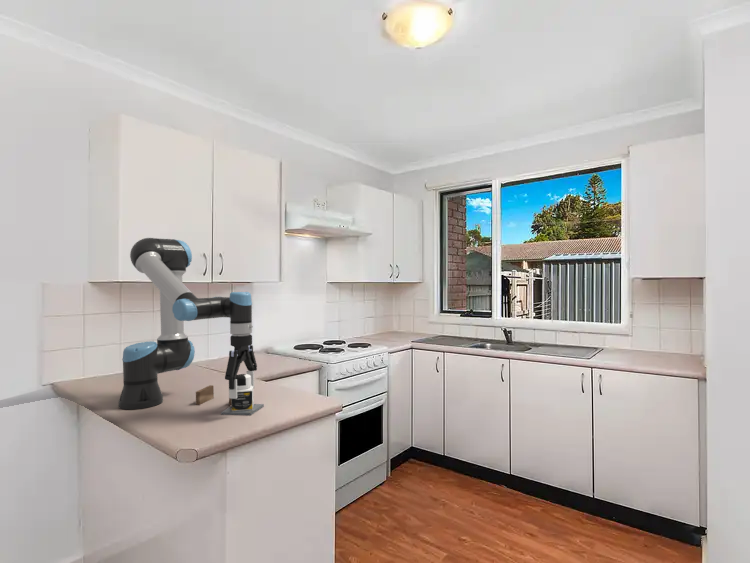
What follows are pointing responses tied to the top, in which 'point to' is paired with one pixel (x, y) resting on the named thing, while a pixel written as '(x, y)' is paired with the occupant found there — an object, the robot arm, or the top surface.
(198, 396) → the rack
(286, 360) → the top surface
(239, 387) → the medicine bottle
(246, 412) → the trivet
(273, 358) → the top surface
